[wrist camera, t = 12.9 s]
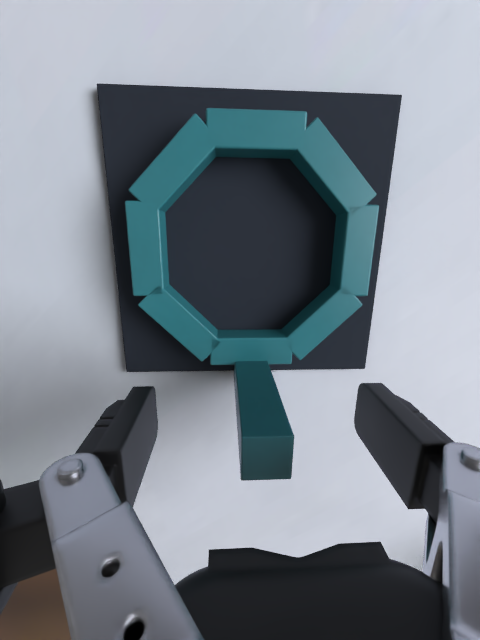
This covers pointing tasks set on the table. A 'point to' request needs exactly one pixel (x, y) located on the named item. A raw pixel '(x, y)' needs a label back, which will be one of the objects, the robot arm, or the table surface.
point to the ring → (253, 345)
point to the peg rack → (35, 610)
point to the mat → (243, 219)
